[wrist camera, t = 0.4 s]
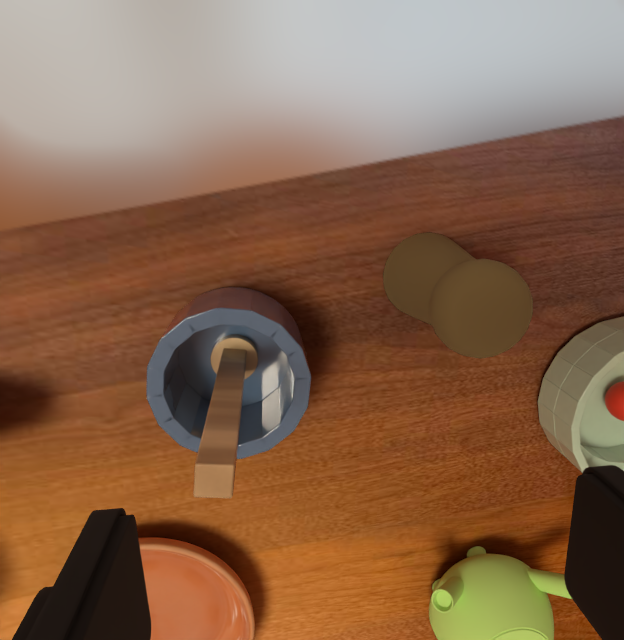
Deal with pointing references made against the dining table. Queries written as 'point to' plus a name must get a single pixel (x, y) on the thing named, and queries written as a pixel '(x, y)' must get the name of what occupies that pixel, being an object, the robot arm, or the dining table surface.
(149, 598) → the saucer
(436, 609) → the teapot
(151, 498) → the dining table surface
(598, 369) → the bowl
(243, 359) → the stick
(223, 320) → the holder
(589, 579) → the robot arm
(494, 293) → the pepper shaker
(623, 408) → the ball
